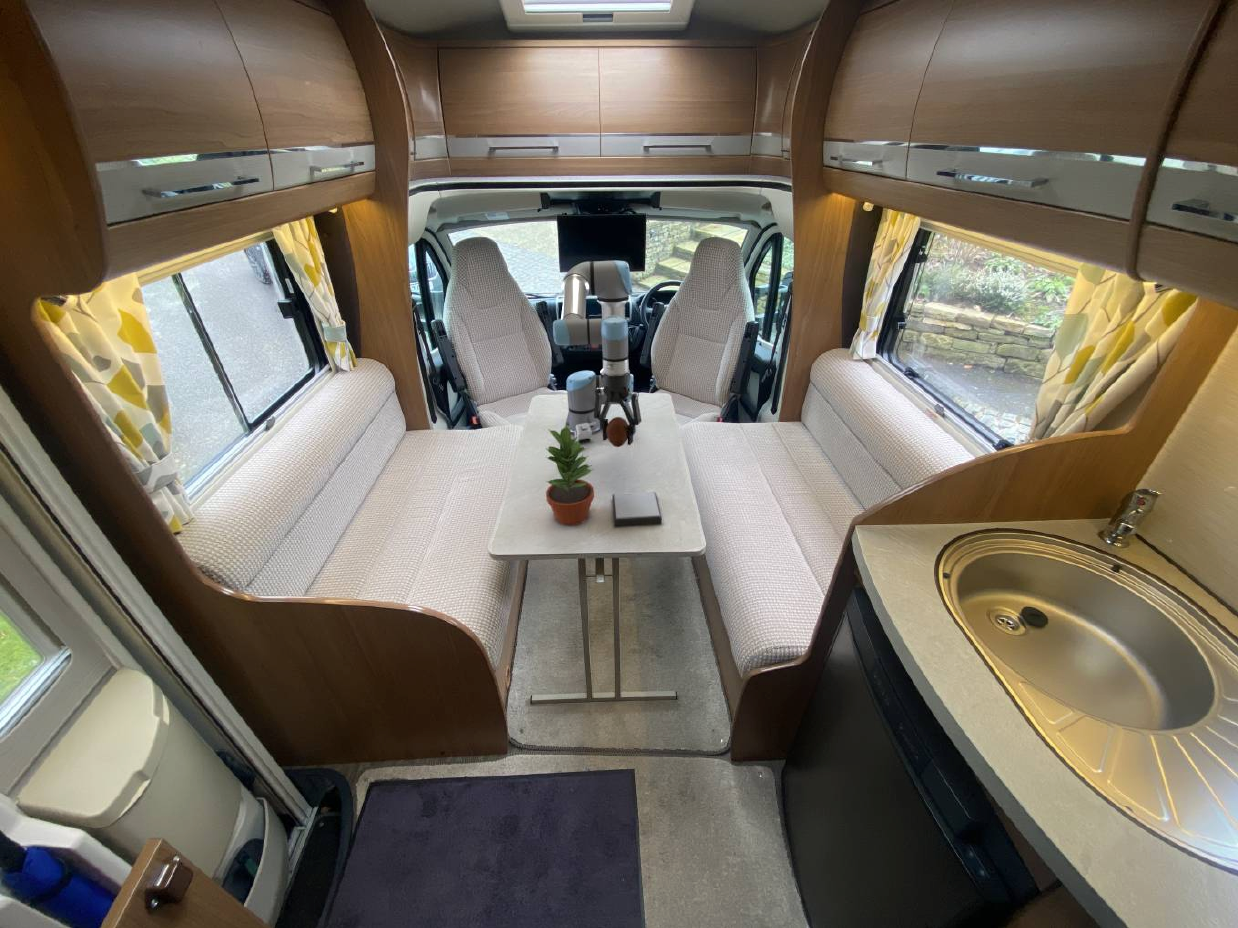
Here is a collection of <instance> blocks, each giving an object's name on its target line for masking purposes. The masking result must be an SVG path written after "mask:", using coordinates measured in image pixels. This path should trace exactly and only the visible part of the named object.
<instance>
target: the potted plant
mask: <svg viewBox="0 0 1238 928" xmlns="http://www.w3.org/2000/svg"><path fill="white" fill-rule="evenodd" d="M548 431H549V432H550V434H551V435H552V437H553V438H554V439H555V440H556V441H557V442H558V444H559V448H558V447H556V446H548V447H547V448H546V451H547V452H548V453H549V454H551V455H550V456H548V457H547V456H545V458H546V459H548V460H549V461H551V462H553V463H555V464H556V467H557V470H558V472H559V475H560V477H561V478H554V479H549V480H548V481H546V480H545V482H546V483H548V484H550V486H548V488H547V489H546V491H545V497H546V502H547V504H548V505H549V506H550V508H551V510H552V512H553V515H554V517H555V519H556V520H557V522H558V523H559V524H562V525H564V526H575V525H579V524H582V523H583V522H585V521H586V520H587V519H588V517H589V514H590V509H591V506H592V502H593V500H594V498H595V490H594V489H595V488H594V486H593V485H592V484H591V483H589V482H588V481H586V480H583V479H581V478H582V477H585V476H587V475H589V474H590V473H591V472H592V471H593V470H594V468H593V469H590V468H591V467H592V464H591V465H589V464H587V463H585V464H583V463H584V462H585V461H586V460H587V458H588V457H589V455H586V456H584V454H582V455H581V456H579V454H580V453H582V452H584V451H585V450H586V449H587V447H585V446H582V444H580V443H579V440H578V441H577V442H576V439H577V438H578V437H576V438H575V437H574V438H573V439H572V434H571V430H570V429H569V428H568V427H567V425H566V424H565V427H564V428H562V429H561V430H560V433H559V432H558V431H556V430H552V429H551V430H550V429H548ZM578 456H579V457H578Z"/></svg>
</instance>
